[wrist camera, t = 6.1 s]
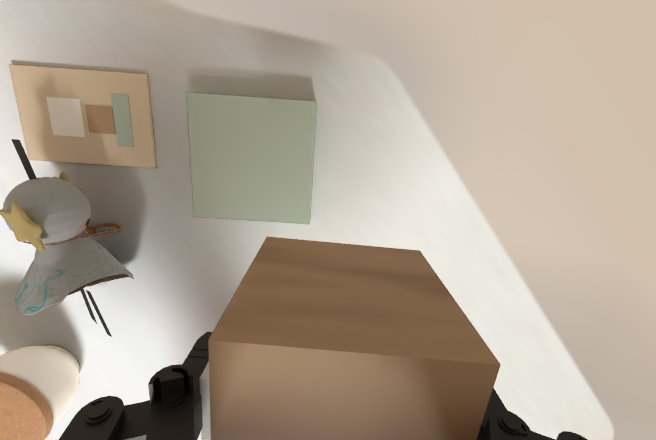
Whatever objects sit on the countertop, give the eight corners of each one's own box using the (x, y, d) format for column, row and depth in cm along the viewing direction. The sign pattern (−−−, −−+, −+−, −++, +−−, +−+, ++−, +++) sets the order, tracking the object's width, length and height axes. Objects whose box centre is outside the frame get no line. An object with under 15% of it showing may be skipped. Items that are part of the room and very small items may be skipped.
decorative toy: (174, 322, 35) (128, 143, 26) (65, 389, 27) (-54, 172, 18) (125, 282, 40) (74, 125, 31) (25, 328, 33) (-80, 141, 24)
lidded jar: (91, 406, 42) (26, 482, 33) (10, 383, 41) (-80, 456, 32) (103, 344, 39) (35, 409, 30) (16, 318, 38) (-81, 377, 29)
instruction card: (156, 167, 32) (154, 168, 32) (32, 159, 32) (27, 159, 32) (147, 74, 30) (144, 73, 29) (12, 65, 30) (7, 64, 29)
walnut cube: (395, 373, 18) (441, 549, 11) (262, 362, 18) (213, 533, 11) (419, 250, 16) (500, 364, 8) (266, 236, 16) (207, 340, 8)
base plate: (310, 218, 34) (309, 224, 32) (201, 211, 34) (193, 216, 32) (316, 102, 30) (315, 101, 29) (195, 94, 30) (186, 92, 28)
